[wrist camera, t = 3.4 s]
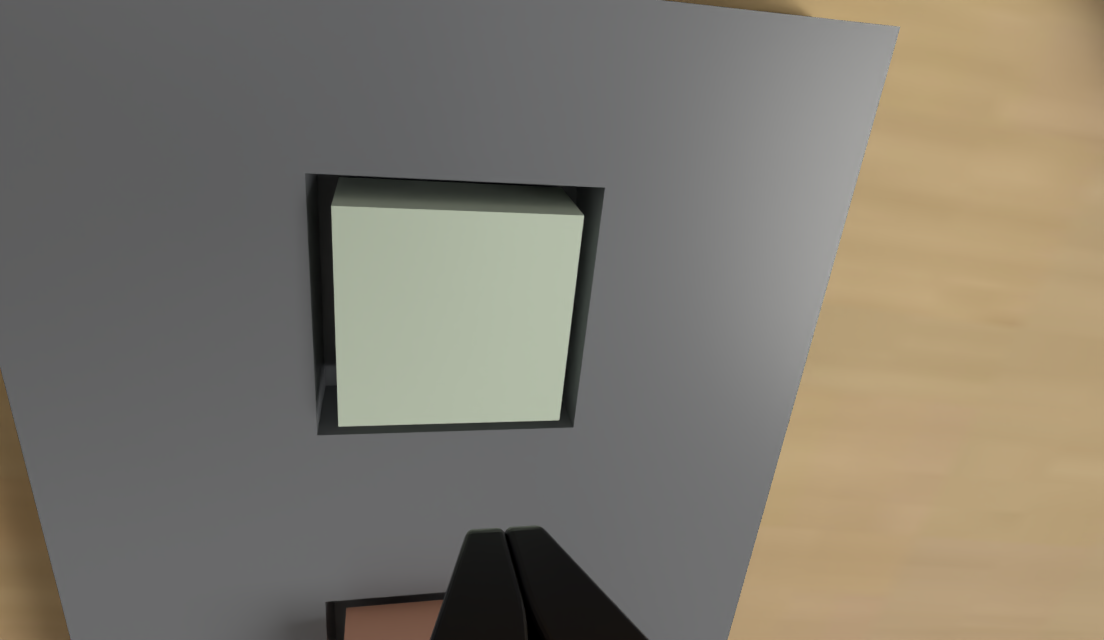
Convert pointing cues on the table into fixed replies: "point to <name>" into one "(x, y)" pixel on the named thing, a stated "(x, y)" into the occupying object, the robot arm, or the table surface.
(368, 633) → the peach square block
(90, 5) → the keypad
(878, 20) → the table surface
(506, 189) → the sage key
